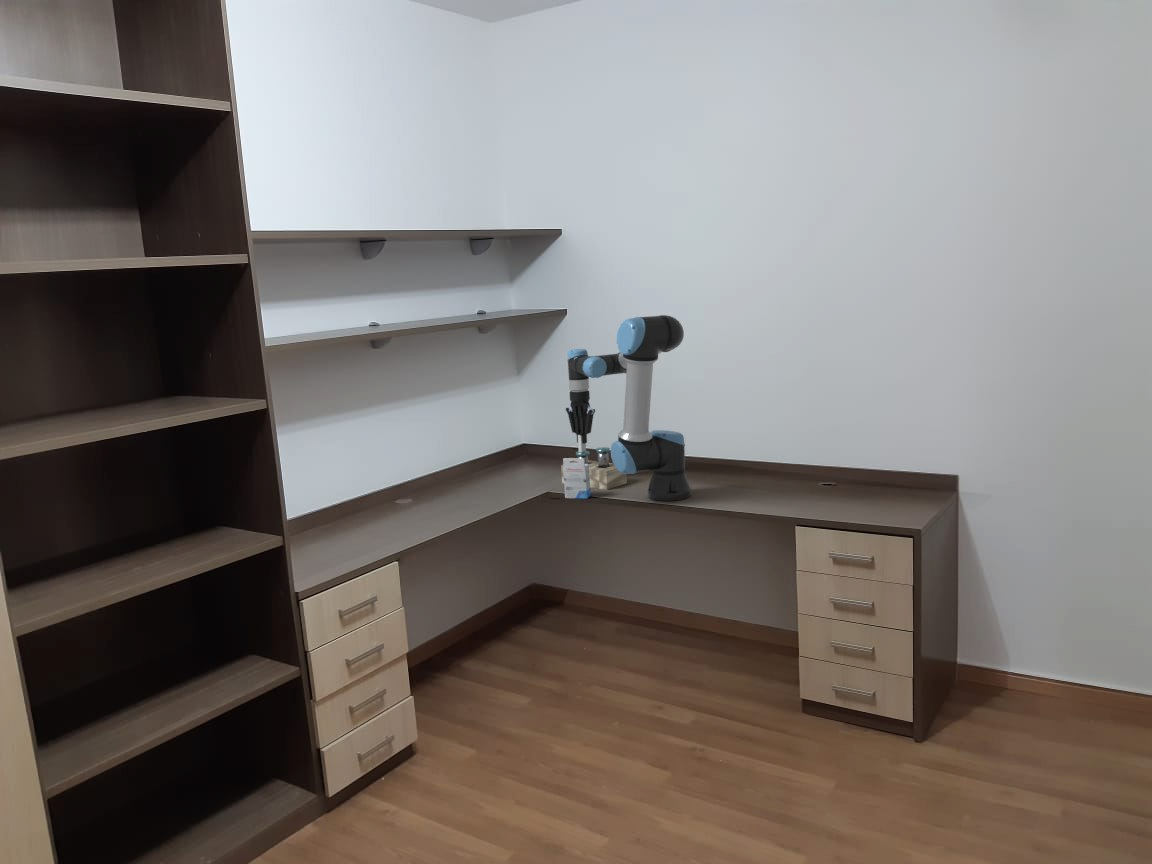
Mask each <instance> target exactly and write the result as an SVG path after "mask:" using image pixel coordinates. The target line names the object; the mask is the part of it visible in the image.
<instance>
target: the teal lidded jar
mask: <svg viewBox="0 0 1152 864" xmlns="http://www.w3.org/2000/svg"><path fill="white" fill-rule="evenodd" d="M589 455H590V451H589V450H586V451H585V452H579V450H578V451H576V452H575V456H577V458H584V460H585V464H588V460H589Z"/></svg>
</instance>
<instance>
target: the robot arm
mask: <svg viewBox="0 0 1152 864" xmlns="http://www.w3.org/2000/svg"><path fill="white" fill-rule="evenodd" d="M684 334H685V333H684V328H683V325H682V324H681V322H680V321H679V320H678V319H677V318H676V317H674V316H671V315H667V314H661V315H652V316H636V317H635V316H634V317H632V318H627V319H624V320H623V322H622V323H621V324H620V325H619V327H618V329H617V332H616V344H617V349H618V351H619V352H618V353H612V354H602V355H592V356H591V355H589V354H588V351H587V348H586V349H585V348H574V349H569V350H568V351H567V368H568V369H567V370H568V371H567V372H568V390H570V391H569V401H570V406H569V407H565V411H566V413H567V415H568V420H569V424H570V427H571V433H574V434H575V435H576V443H577V444H578V446H577V447H578V451H579V452H585V451H587V443H588V436H587V435H589V434H591V433H592V427H593V420H594V415H595V413H596V409H595V408H592V407H591V405H590V399H591V397H590V396H591V395H590V394H591V393H590V390H589V389H590V378H592V379H599V378H602V377H604V376H610V375H611V376H612V375H620V374H626V375H625V376H626V377H625V394H624V407H623V408H624V410H623V411H624V412H623V426H622V427H623V428H622V429H621V430H620V431H619V432H618V438H617V440H615V441H614V442H613V443H612V444H611V446H610V457H611V461H612V463H614V465H615V467H616V469H617V470H618V471H619V472H621V473H622V474H626V475H630V474H632V475H634V474H637V473H642V472H649V471H651V477H650V482H649V485H648V489H647V497H648V498H649V499H651V500H654V501H665V502H668V501H669V502H670V501H671V502H672V501H681V500H684V499H685V500H686V499H688V498H690V497H691V496H692V488H691V486H690V483H689V481H688V478H687V475H686V459H685V458H686V455H685V449H686V448H685V446H686V445H685V437H684V435H683V434H682V433H681V432H679V431H672V430H663V429H662V430H661V429H658V430H657V429H656V430H651V431H649V429H650V427H649V426H650V415H651V413H650V412H651V399H652V397H651V396H652V384H653V383H652V382H653V373H654V372H653V370H654V363H655V362H656V361H658V359H659V355H660V354H662V353H669V352H670V351H673V350H674V349H676V348H678V347H679V346H680V345H681V344H682V342H683V340H684V336H685V335H684Z"/></svg>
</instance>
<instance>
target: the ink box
mask: <svg viewBox="0 0 1152 864" xmlns="http://www.w3.org/2000/svg"><path fill="white" fill-rule="evenodd" d="M562 460H563V461H562V465H563V473H564V483H563V485H564V498H565V499H585V500H586V499H588V498H590V497H591V495H592V493H591V492H592V491H591V487H590V474H589V464H585V460H584V458H578V457H576V458H575V457H569V458H567V457H564V458H562ZM574 461H577V462H578V463H571V462H574Z"/></svg>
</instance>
